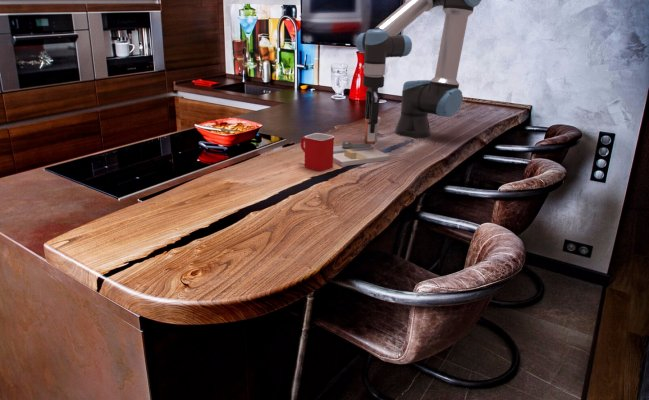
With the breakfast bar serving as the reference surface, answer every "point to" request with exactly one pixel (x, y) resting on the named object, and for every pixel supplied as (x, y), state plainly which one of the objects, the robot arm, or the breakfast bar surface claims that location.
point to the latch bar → (355, 145)
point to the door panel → (359, 157)
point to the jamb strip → (341, 150)
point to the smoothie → (377, 126)
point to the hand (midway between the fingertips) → (369, 139)
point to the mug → (318, 151)
